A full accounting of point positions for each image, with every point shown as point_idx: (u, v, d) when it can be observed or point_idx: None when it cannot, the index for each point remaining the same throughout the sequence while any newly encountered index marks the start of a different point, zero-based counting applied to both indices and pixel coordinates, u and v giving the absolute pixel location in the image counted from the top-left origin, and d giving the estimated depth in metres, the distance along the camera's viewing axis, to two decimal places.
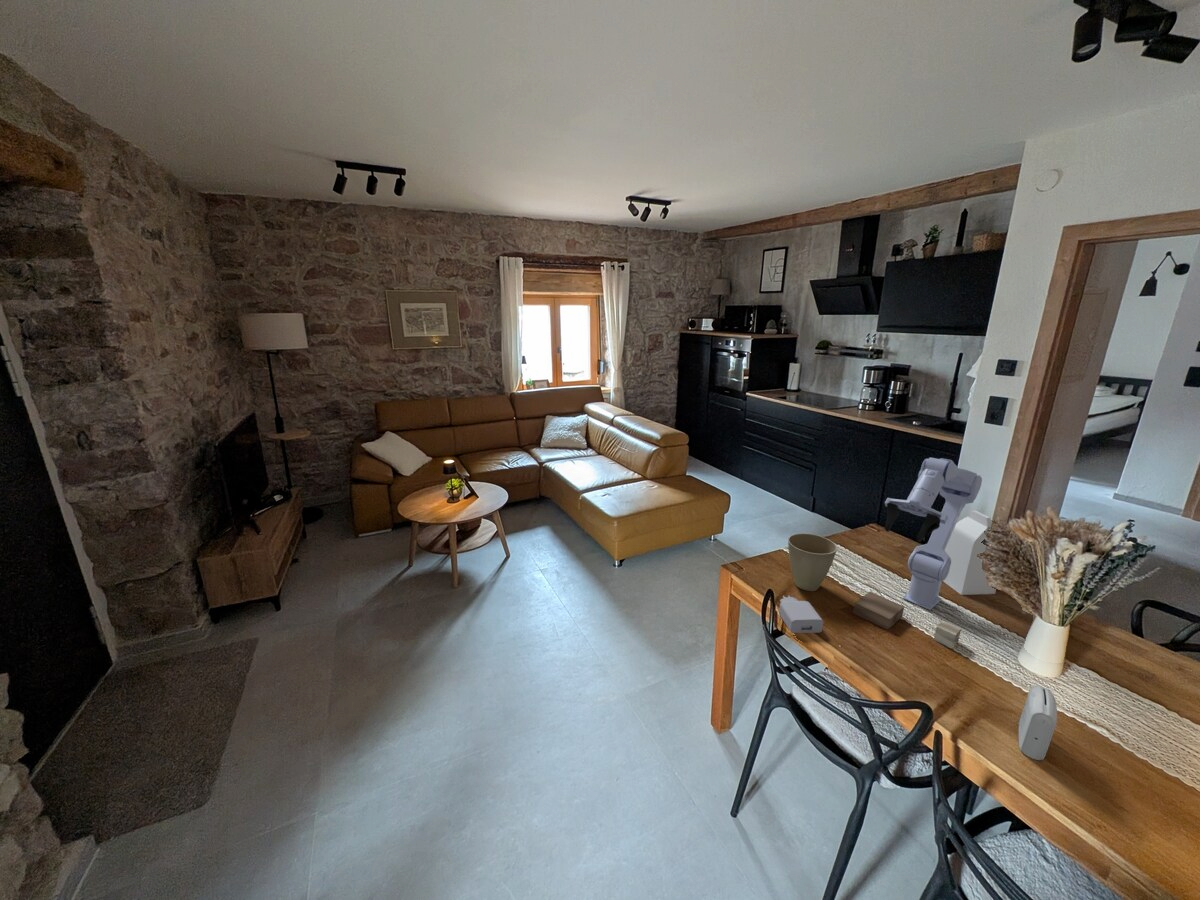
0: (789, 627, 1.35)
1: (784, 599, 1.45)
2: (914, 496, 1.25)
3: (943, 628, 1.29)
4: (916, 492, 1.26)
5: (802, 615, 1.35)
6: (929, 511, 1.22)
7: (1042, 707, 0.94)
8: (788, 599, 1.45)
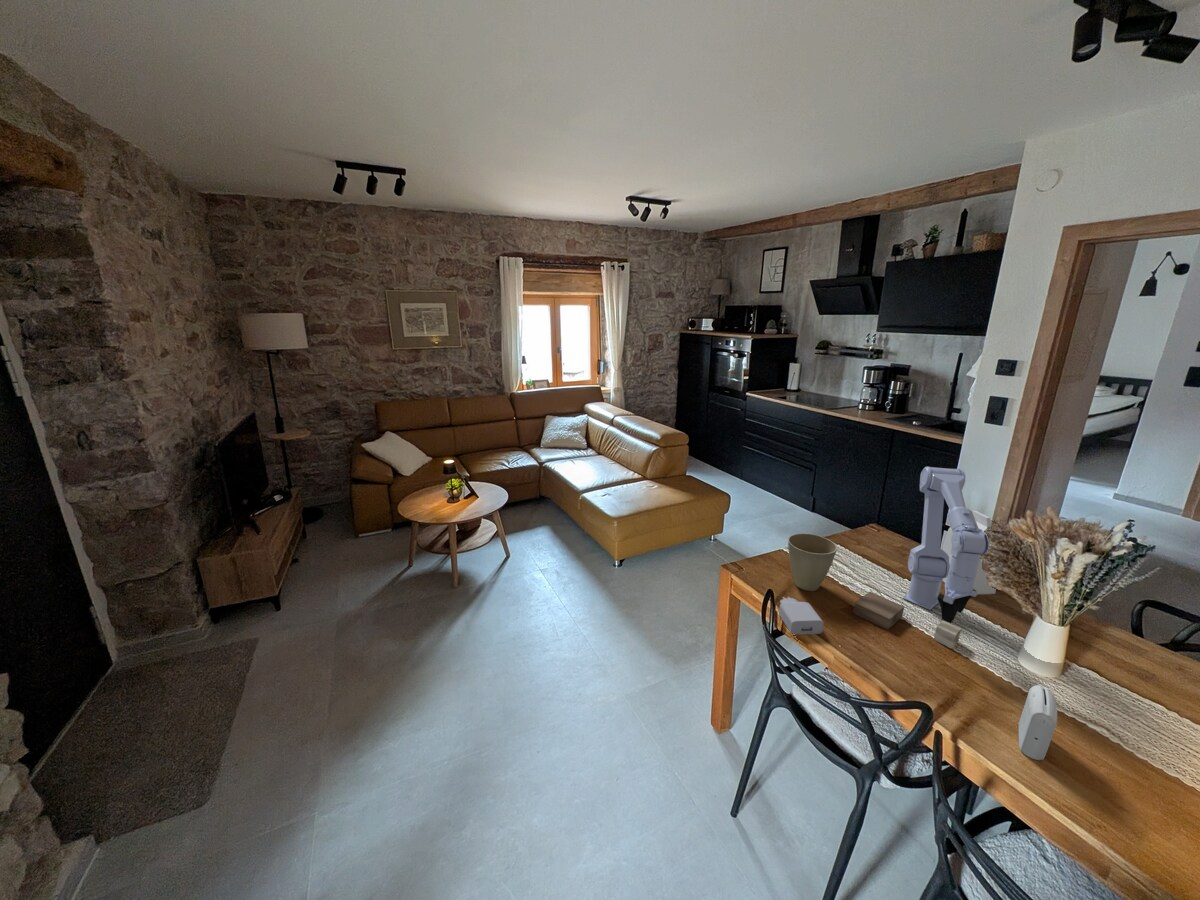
0: (789, 628, 1.34)
1: (784, 600, 1.45)
2: (971, 587, 1.22)
3: (943, 628, 1.29)
4: (972, 582, 1.22)
5: (802, 616, 1.34)
6: None
7: (1042, 707, 0.94)
8: (788, 600, 1.44)
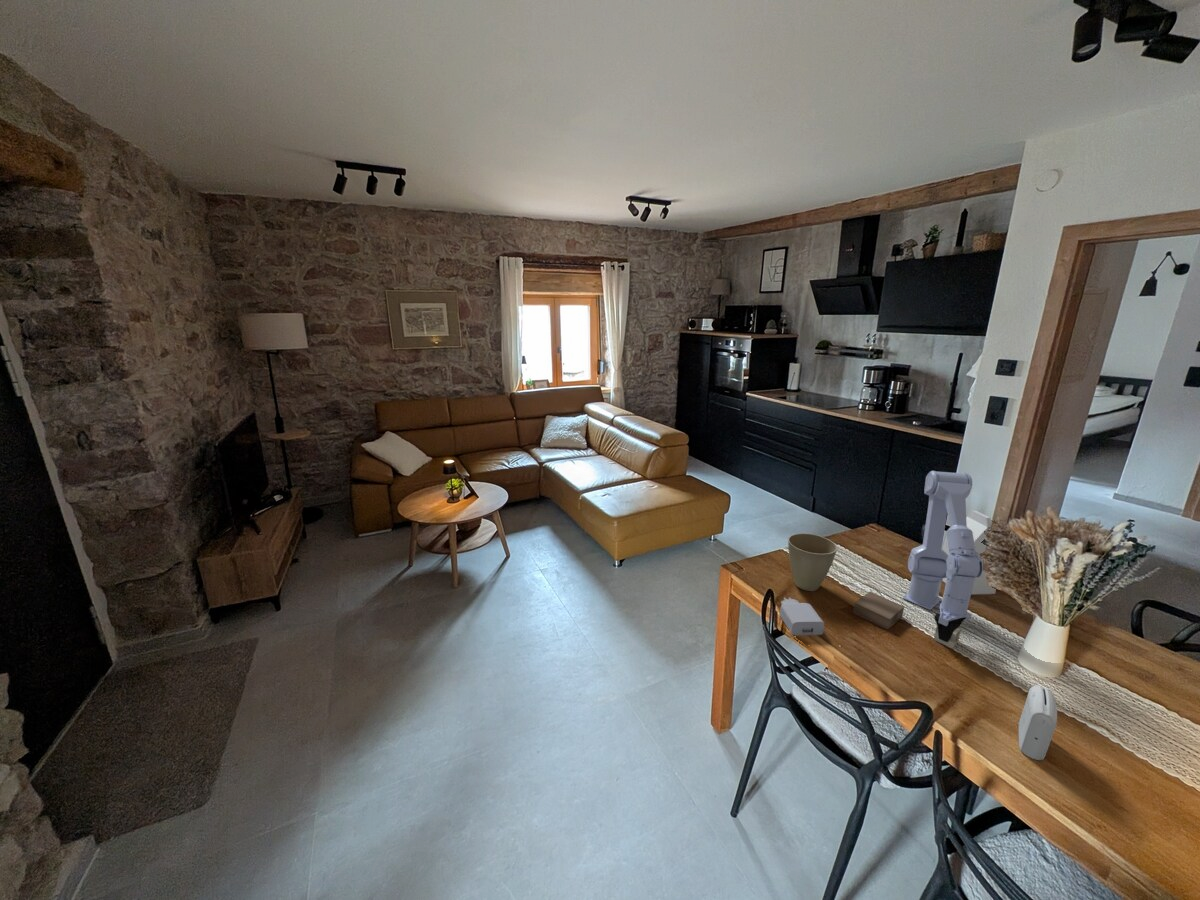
0: (790, 629, 1.34)
1: (785, 601, 1.44)
2: (965, 609, 1.24)
3: None
4: (966, 604, 1.24)
5: (803, 617, 1.34)
6: None
7: (1042, 707, 0.94)
8: (789, 601, 1.44)
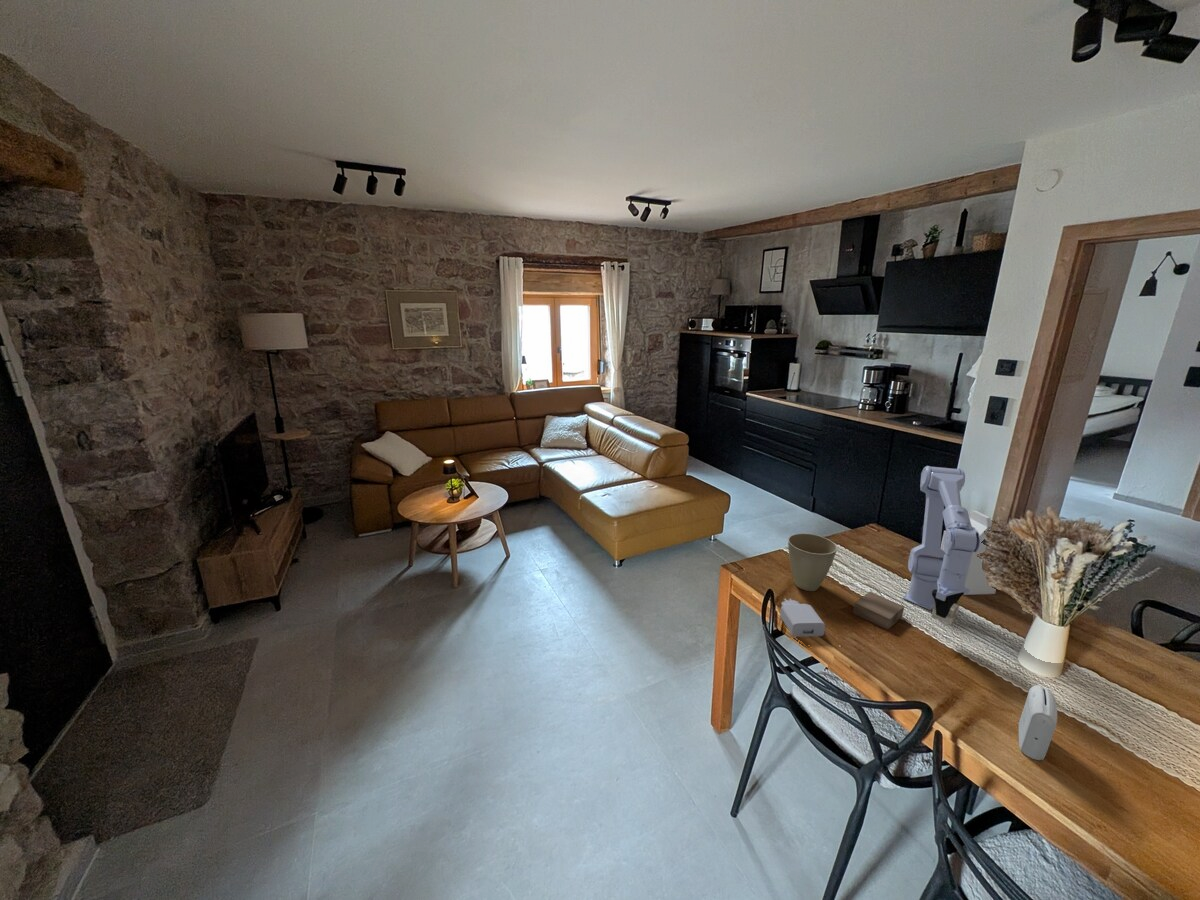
0: (790, 630, 1.33)
1: (785, 602, 1.44)
2: (963, 584, 1.24)
3: None
4: (964, 579, 1.23)
5: (804, 618, 1.33)
6: None
7: (1042, 707, 0.94)
8: (789, 602, 1.43)
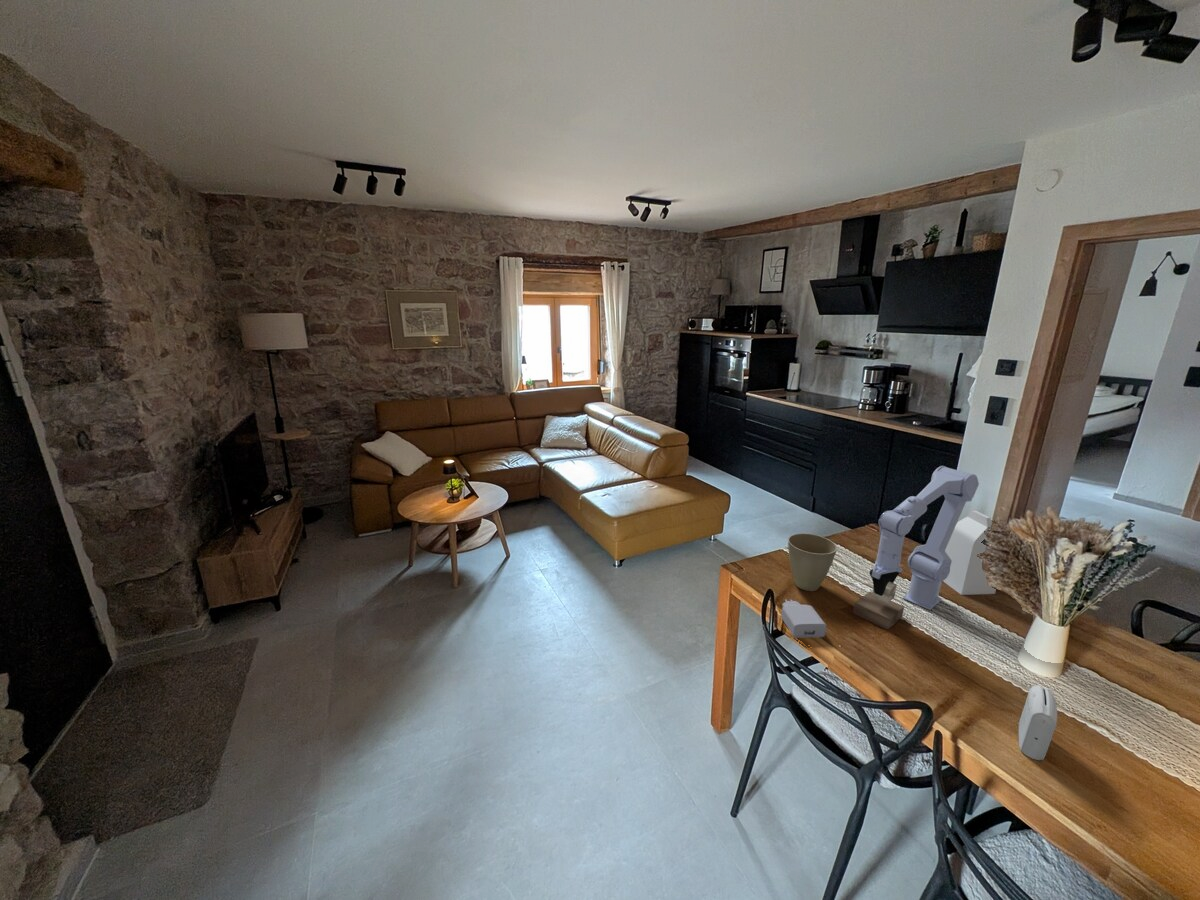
0: (792, 631, 1.33)
1: (786, 603, 1.43)
2: (896, 564, 1.34)
3: None
4: (897, 559, 1.33)
5: (805, 619, 1.33)
6: None
7: (1042, 707, 0.94)
8: (790, 603, 1.43)
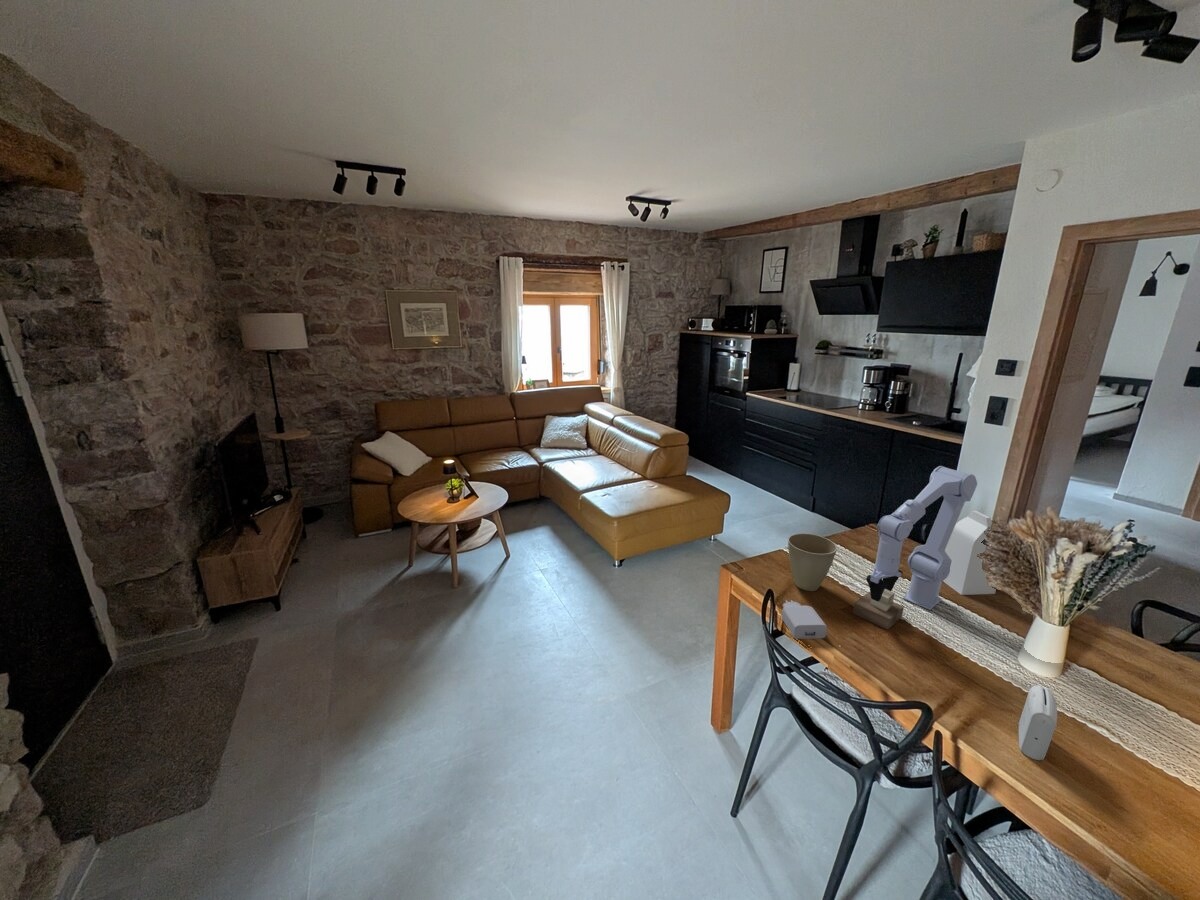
0: (792, 632, 1.32)
1: (787, 604, 1.43)
2: (895, 568, 1.34)
3: None
4: (896, 564, 1.34)
5: (805, 620, 1.32)
6: None
7: (1042, 707, 0.94)
8: (791, 604, 1.42)
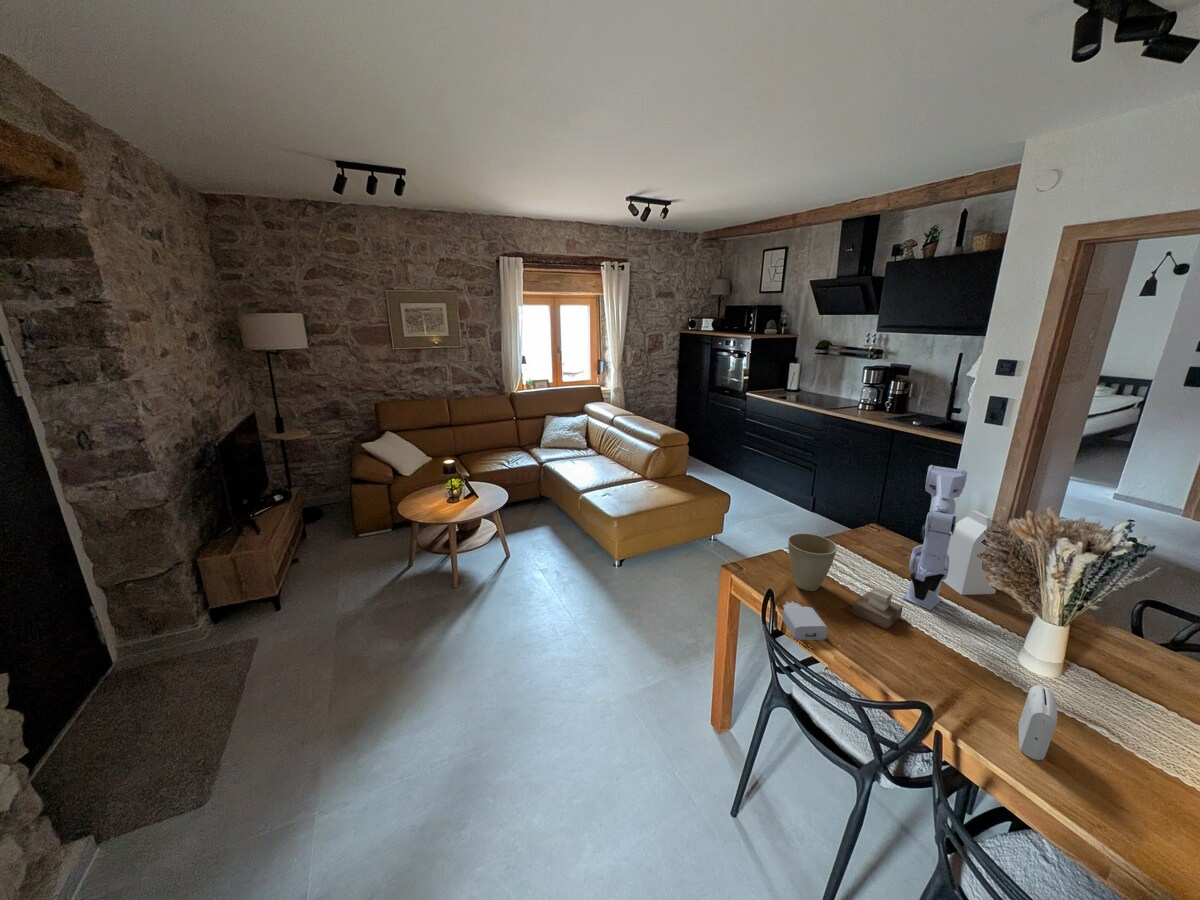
0: (793, 634, 1.32)
1: (787, 605, 1.42)
2: (942, 566, 1.29)
3: (876, 592, 1.39)
4: (942, 561, 1.28)
5: (806, 622, 1.32)
6: None
7: (1042, 707, 0.94)
8: (791, 605, 1.42)
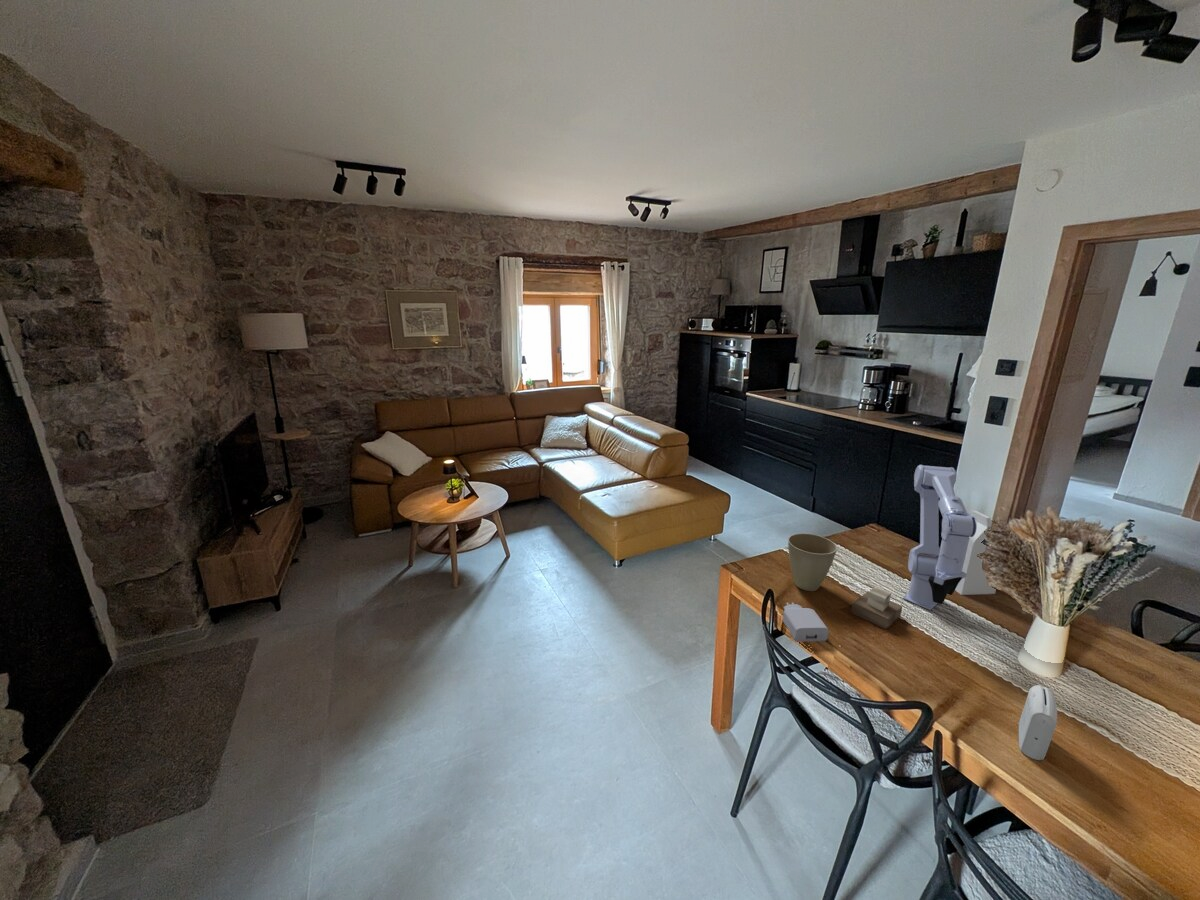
0: (793, 635, 1.31)
1: (788, 606, 1.41)
2: (960, 569, 1.27)
3: (875, 593, 1.39)
4: (961, 564, 1.27)
5: (807, 623, 1.31)
6: None
7: (1043, 707, 0.94)
8: (792, 606, 1.41)
